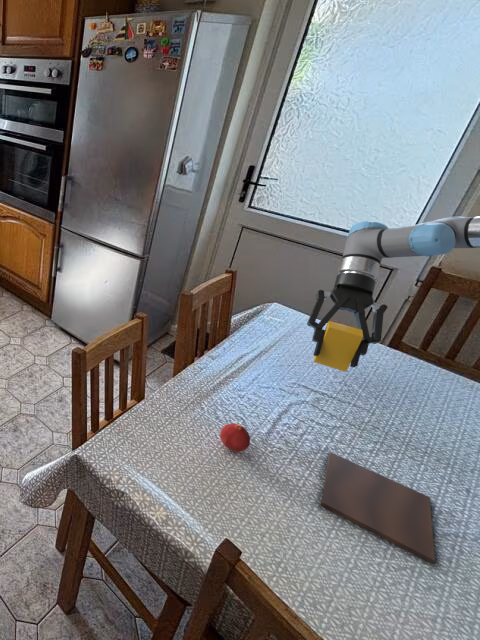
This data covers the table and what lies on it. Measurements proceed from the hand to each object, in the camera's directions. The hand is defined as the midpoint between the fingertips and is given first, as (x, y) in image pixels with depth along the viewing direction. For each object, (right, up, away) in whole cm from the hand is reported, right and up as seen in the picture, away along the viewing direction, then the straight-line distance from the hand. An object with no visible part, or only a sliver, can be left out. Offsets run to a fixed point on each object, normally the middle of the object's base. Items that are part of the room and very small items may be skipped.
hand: (334, 360), depth 102 cm
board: (-8, -25, -18) cm, 32 cm away
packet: (+2, -2, +4) cm, 5 cm away
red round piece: (-30, -19, -6) cm, 36 cm away
